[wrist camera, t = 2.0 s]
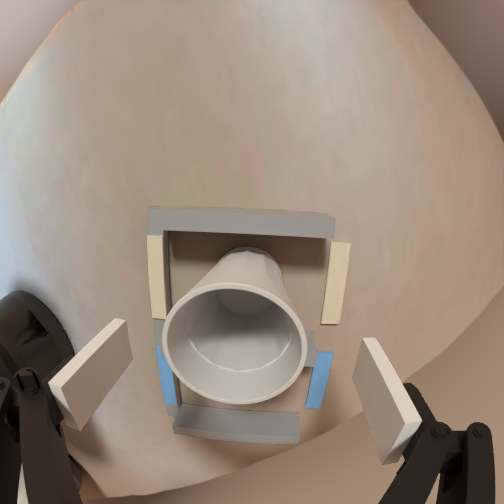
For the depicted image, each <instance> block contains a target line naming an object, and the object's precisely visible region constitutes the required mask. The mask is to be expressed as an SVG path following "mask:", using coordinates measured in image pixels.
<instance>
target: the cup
mask: <svg viewBox="0 0 504 504" xmlns="http://www.w3.org/2000/svg"><path fill="white" fill-rule="evenodd" d="M162 345H163V350H164V354H165V357H166V360H167V362H168V364H169V366H170V367H171V369H172V371H173V372H174V373H175V375H176V376H177V377H178V378H179V379H180V380H181V381H182V382H183V383H184V384H185V385H186V386H188V387H189V388H190V389H192V390H193V391H195V392H196V393H198V394H200V395H202V396H204V397H206V398H209V399H211V400H214V401H218V402H222V403H228V404H252V403H257V402H261V401H265V400H268V399H270V398H273V397H275V396H277V395H278V394H280V393H282V392H283V391H285V390H286V389H287V388H288V387H289V386H291V385H292V384H293V383H294V381H295V380H296V379H297V378H298V376H299V375H300V373H301V371H302V369H303V367H304V364H305V361H306V357H307V338H306V334H305V330H304V328H303V325H302V323H301V321H300V318H299V316H298V314H297V312H296V309H295V307H294V305H293V302H292V301H291V299H290V297H289V294H288V292H287V289H286V286H285V284H284V281H283V279H282V273H281V269H280V267H279V265H278V263H277V261H276V260H275V259H274V258H273V257H272V256H271V255H270V254H269V253H267V252H266V251H264V250H262V249H259V248H256V247H249V246H246V247H239V248H235V249H233V250H231V251H229V252H227V253H226V254H225V255H224V256H223V257H222V258H221V259H220V260H219V262H218V263H217V264H216V265H215V266H214V267H213V268H212V269H211V270H210V271H209V272H208V273H207V274H206V275H205V276H204V277H203V278H202V279H201V280H200V281H199V282H198V283H197V284H196V285H195V286H194V287H193V288H192V289H191V290H190V291H189V292H188V293H187V294H185V295H184V296H183V297H182V298H181V299H180V300H179V301H178V302H177V303H176V304H175V305H174V307H173V308H172V309H171V311H170V312H169V314H168V316H167V318H166V320H165V323H164V327H163V332H162Z"/></svg>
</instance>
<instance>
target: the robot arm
mask: <svg viewBox="0 0 504 504" xmlns="http://www.w3.org/2000/svg"><path fill="white" fill-rule="evenodd" d="M132 360H133V359H132V353H131V348H130V342H129V336H128V330H127V323H126V320H122V319H116V318H115V319H114V320H113V321H111V322H110V323H109V324H108V325H107V326H106V327H105V328H104V329H103V330H102V331H101V332H100V333H99V334H98V335H96V336H95V337H94V338H93V339H92V340H91V341H90V342H89V343H88V344H87V345H86V346H85V347H84V348H83V349H82V350H81V351H80V352H79V353H78V354H77V355H74V353H73V349H72V346H71V344H70V341H69V339H68V337H67V335H66V333H65V331H64V330H63V328H62V326H61V325H60V323H59V322H58V320H57V319H56V317H55V316H54V315H53V314H52V312H51V311H50V310H49V309H48V308H47V307H46V306H45V305H44V304H43V303H42V302H41V301H40V300H39V299H37V298H36V297H35V296H33V295H31V294H29V293H27V292H24V291H15V292H13V293H11V294H9V295H7V296H5V297H4V298H2V299H1V300H0V504H17V500H18V489H19V480H20V472H21V465H22V467H23V475H24V482H25V488H26V494H27V499H28V504H82V501H81V498H80V495H79V492H78V489H77V486H76V483H75V479H74V476H73V472H72V469H71V465H70V461H69V457H68V453H67V448H66V444H65V439H64V434H63V429H62V426H61V424H60V422H61V421H62V420H63V418H64V420H65V422H66V424H67V426H68V427H70V428H72V429H75V430H77V431H81V430H82V429H83V427H84V426H85V424H86V423H87V421H88V420H89V419H90V417H91V416H92V414H93V413H94V412H95V410H96V409H97V407H98V406H99V405H100V403H101V402H102V401H103V399H104V398H105V396H106V395H107V394H108V392H109V391H110V390H111V388H112V387H113V385H114V384H115V383H116V381H117V380H118V379H119V377H120V376H121V375H122V373H123V372H124V371H125V369H126V368H127V366H128V365H129V364H130V362H131V361H132ZM352 378H353V381H354V383H355V386H356V389H357V392H358V395H359V398H360V400H361V403H362V406H363V409H364V412H365V415H366V418H367V421H368V424H369V427H370V430H371V433H372V436H373V439H374V442H375V445H376V448H377V451H378V454H379V458H380V461H381V464H382V465H384V464H390V463H395V462H398V460H399V459H400V457H401V456H402V454H403V457H404V459H405V461H404V463H403V464H402V466H401V467H400V469H399V471H398V472H397V473H396V474H397V475H396V477H395V478H394V480H393V482H392V483H391V485H390V486H389V488H388V490H387V491H386V493H385V494H384V496H383V497H382V499H381V500H380V502H379V503H378V504H425V502H426V500H427V498H428V496H429V494H430V492H431V490H432V487H433V485H434V483H435V481H436V478H437V476H438V474H439V473H440V480H439V488H438V495H437V501H436V504H495V467H494V453H493V443H492V435H491V431H490V429H489V428H488V426H487V425H485V424H483V423H480V422H475V423H472V424H470V426H469V427H468V428H467V430H466V431H452V430H451V428H450V427H449V426H448V425H446V424H444V423H443V422H437V421H436V419H435V417H434V416H433V414H432V412H431V410H430V409H429V407H428V405H427V404H426V403H425V400H424V399H423V397H422V395H421V393H420V392H419V390H418V389H417V388H416V387H415V386H414V385H412V384H411V383H404V384H402V382H401V381H400V379H399V377H398V375H397V374H396V372H395V370H394V368H393V367H392V365H391V363H390V361H389V360H388V358H387V356H386V355H385V353H384V351H383V350H382V348H381V346H380V345H379V343H378V341H377V340H376V338H362V342H361V347H360V351H359V355H358V359H357V362H356V366H355V370H354V374H353V377H352Z"/></svg>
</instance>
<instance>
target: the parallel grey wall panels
mask: <svg viewBox="0 0 504 504" xmlns="http://www.w3.org/2000/svg"><path fill="white" fill-rule="evenodd" d="M334 226H335V218H333V217H331V216H329V215H327V214H325V213H315V212H300V211H283V210H265V209H243V208H216V207H173V206H152V207H148V236H147V252H148V271H149V286H150V298H151V309H152V318H154V327H155V335H156V343H157V347H156V352H157V359H158V366H159V372H160V379H161V385H162V390H163V396H164V401H165V403H166V407H167V412H168V416H173V417H176V418H175V420H174V423H173V430H174V433H175V434H181V435H186V436H193V437H199V438H207V439H215V440H224V441H234V442H247V443H266V444H298V443H299V439H300V429H299V419H298V412H263V411H246V410H233V409H223V408H213V407H205V406H197V405H190V404H183V403H181V399H180V392H179V385H178V377H177V376H176V375H175V373H174V372H173V371H172V369H171V367H170V366H169V364H168V362H167V360H166V357H165V354H164V350H163V345H162V332H163V327H164V323H165V320H166V318H167V316H168V314H169V312H170V311H171V301H170V283H169V259H168V230H169V231H195V232H218V233H240V234H260V235H279V236H297V237H314V238H331V239H333V237H334ZM349 252H350V243H344V242H331V243H330V253H329V263H328V271H327V280H326V288H325V296H324V303H323V310H322V317H321V324H339V321H340V315H341V309H342V303H343V296H344V290H345V283H346V276H347V268H348V261H349ZM305 334H306V338H307V357H306V361H305V364H304V367H313V371H312V376H311V381H310V386H309V391H308V396H307V401H306V405H305V408H321V404H322V400H323V396H324V392H325V388H326V384H327V380H328V375H329V371H330V366H331V362H332V357H333V352H317V348H316V344H315V341H314V337H313V333H312V331H305Z"/></svg>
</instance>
